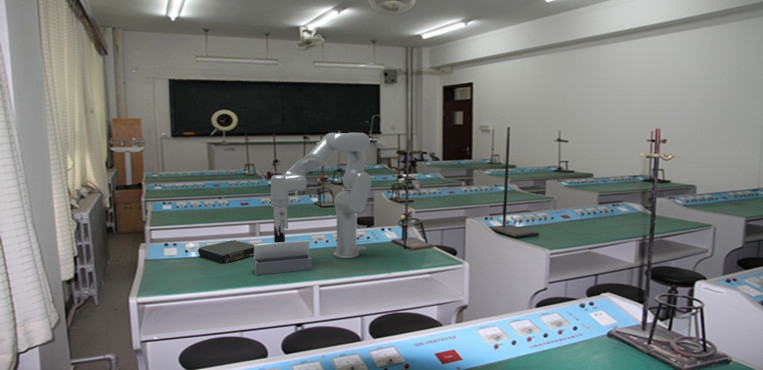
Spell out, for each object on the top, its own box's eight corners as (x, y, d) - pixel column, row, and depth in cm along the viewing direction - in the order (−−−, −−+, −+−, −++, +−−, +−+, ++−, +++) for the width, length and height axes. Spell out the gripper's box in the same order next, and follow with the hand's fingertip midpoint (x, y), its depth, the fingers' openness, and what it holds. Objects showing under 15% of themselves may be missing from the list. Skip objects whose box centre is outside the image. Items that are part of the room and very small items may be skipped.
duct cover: (308, 255, 218) (307, 254, 219) (309, 241, 213) (309, 239, 214) (253, 260, 210) (253, 258, 210) (254, 245, 205) (254, 244, 205)
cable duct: (308, 265, 218) (308, 254, 217) (312, 269, 211) (311, 258, 211) (254, 270, 210) (254, 259, 209) (256, 275, 203) (255, 263, 202)
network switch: (227, 265, 218) (227, 255, 217) (193, 258, 230) (192, 248, 229) (264, 254, 238) (263, 244, 237) (230, 248, 250) (230, 238, 249)
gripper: (291, 205, 206) (292, 246, 208) (285, 200, 220) (286, 239, 222) (273, 206, 204) (274, 248, 206) (269, 201, 218) (270, 240, 220)
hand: (280, 243), depth 214 cm, fingers closed
